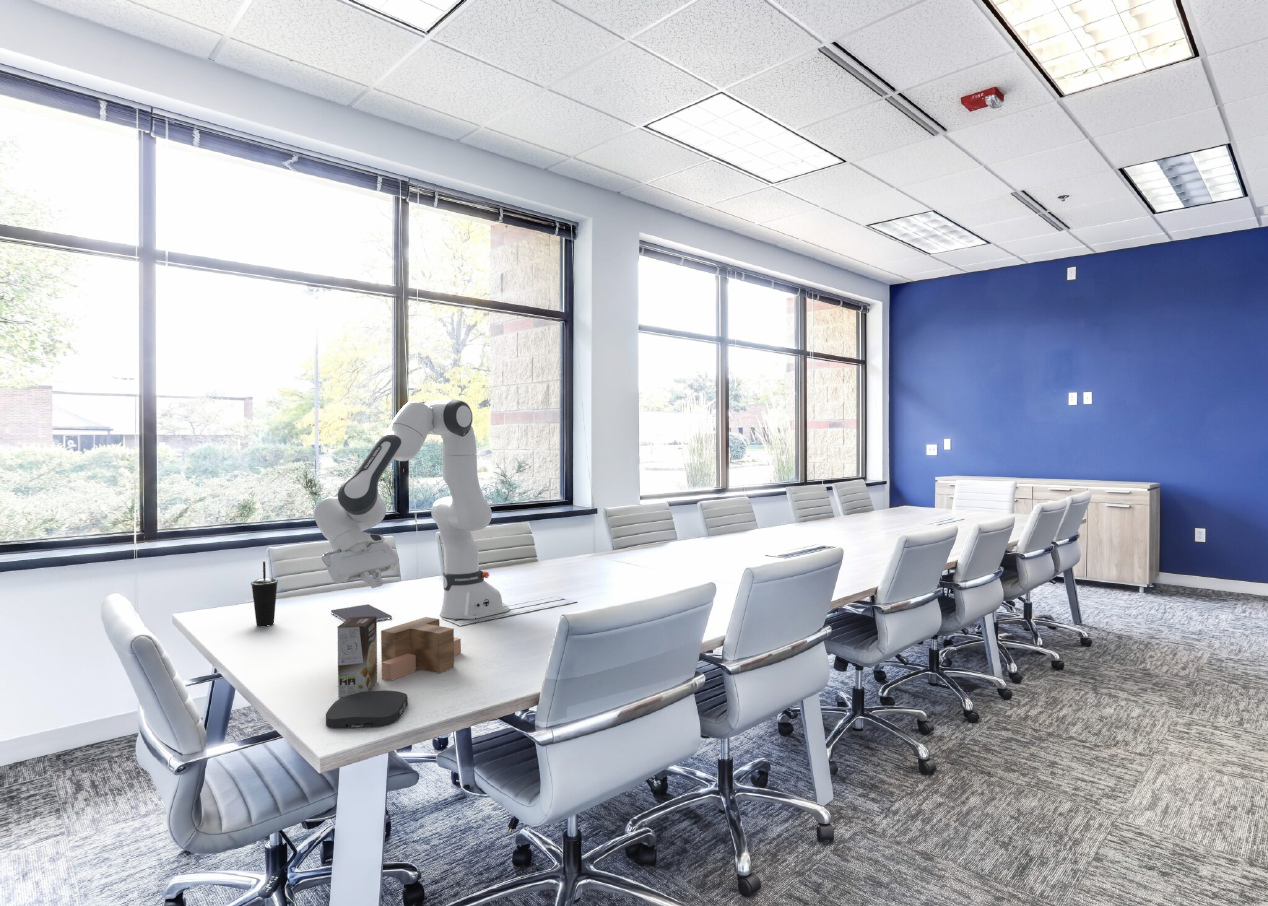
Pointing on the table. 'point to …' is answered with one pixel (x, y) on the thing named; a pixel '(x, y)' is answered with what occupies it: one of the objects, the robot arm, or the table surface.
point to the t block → (420, 644)
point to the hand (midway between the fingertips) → (378, 585)
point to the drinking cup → (264, 599)
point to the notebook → (360, 612)
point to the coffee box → (357, 655)
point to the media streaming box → (367, 709)
